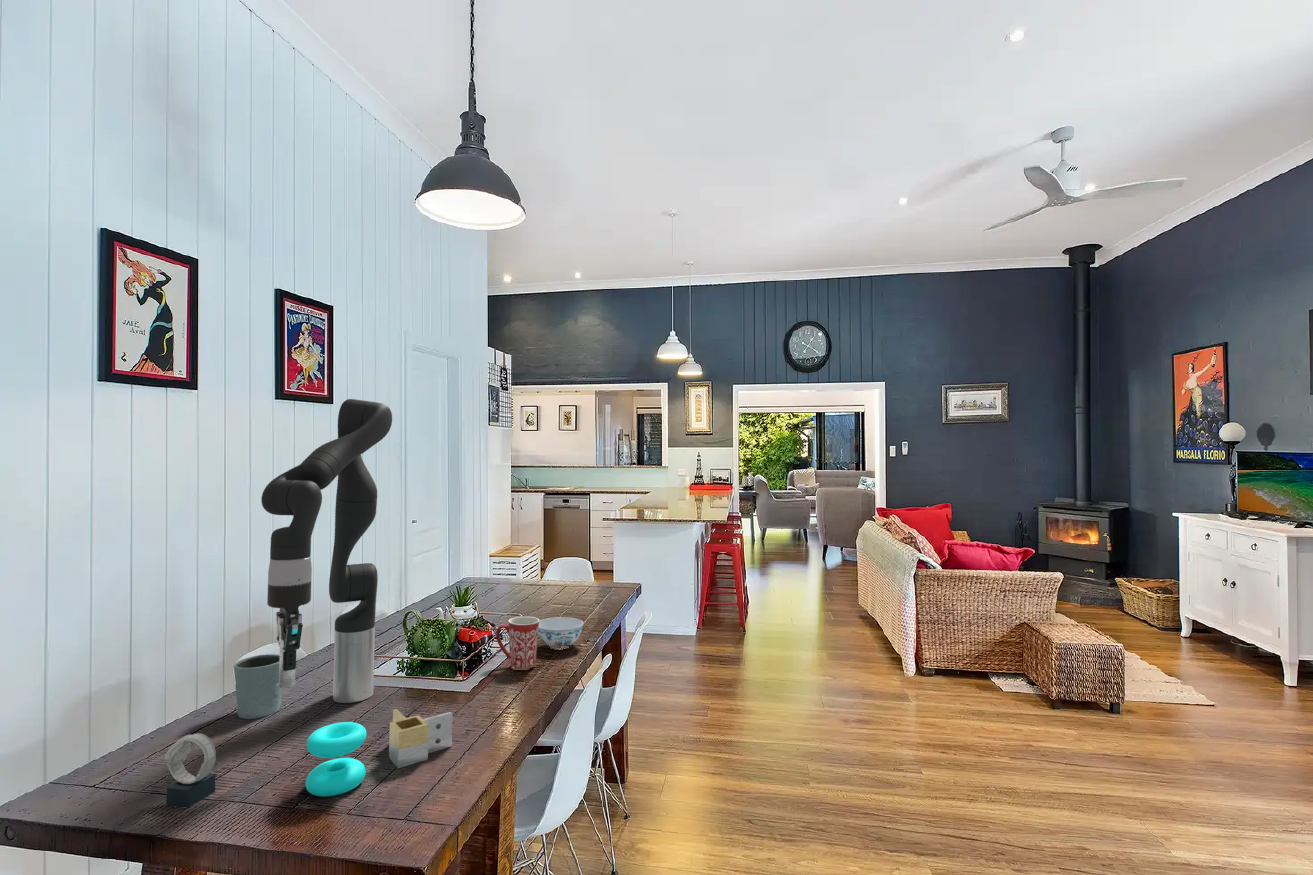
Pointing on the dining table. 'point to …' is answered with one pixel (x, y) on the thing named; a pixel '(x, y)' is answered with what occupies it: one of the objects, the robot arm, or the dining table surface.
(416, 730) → the bracket
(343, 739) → the donuts
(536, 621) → the mug
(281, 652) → the hinge pin
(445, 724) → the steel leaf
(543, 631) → the chinaware
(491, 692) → the dining table surface
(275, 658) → the embossed green planter pot
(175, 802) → the watch
